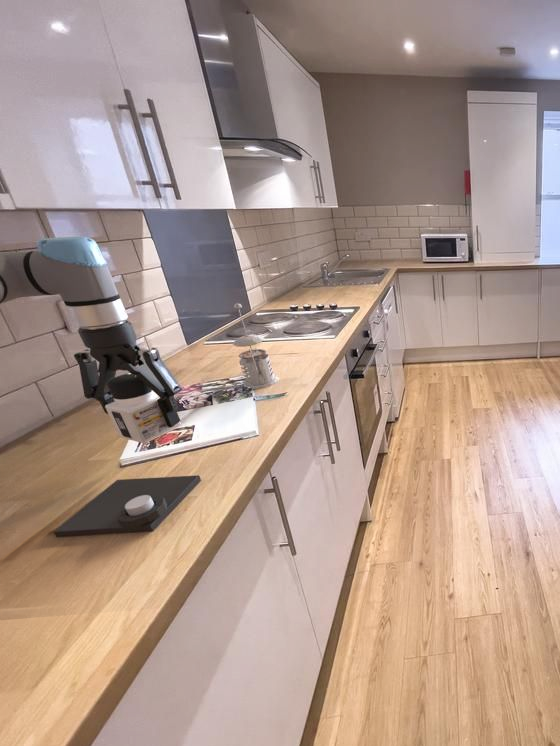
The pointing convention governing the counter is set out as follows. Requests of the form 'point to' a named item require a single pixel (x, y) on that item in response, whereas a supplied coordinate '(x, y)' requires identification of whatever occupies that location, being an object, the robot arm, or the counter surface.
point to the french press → (254, 361)
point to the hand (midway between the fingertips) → (148, 425)
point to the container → (136, 410)
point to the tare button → (139, 505)
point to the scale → (113, 517)
